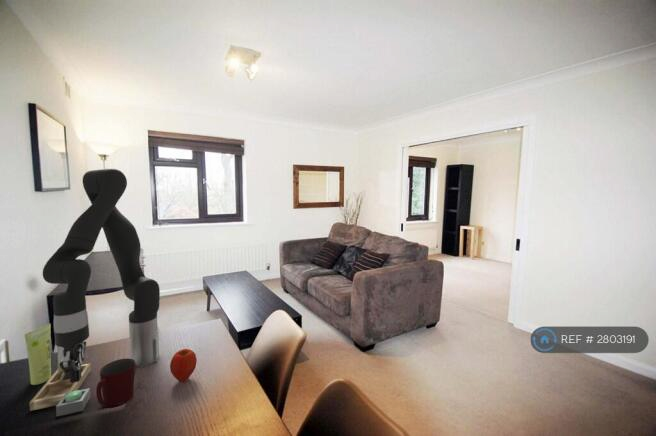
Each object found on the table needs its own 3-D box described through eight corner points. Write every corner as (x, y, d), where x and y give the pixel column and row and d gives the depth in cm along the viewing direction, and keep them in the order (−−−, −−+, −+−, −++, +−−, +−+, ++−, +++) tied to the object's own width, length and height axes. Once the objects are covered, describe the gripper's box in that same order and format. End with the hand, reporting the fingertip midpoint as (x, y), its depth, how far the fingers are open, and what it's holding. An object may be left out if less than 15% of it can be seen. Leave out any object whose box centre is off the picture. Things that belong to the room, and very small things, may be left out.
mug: (113, 418, 81) (112, 382, 81) (84, 417, 82) (82, 381, 81) (142, 390, 93) (141, 358, 93) (116, 389, 94) (115, 358, 93)
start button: (83, 398, 87) (83, 388, 87) (79, 406, 83) (78, 396, 83) (69, 401, 85) (68, 392, 85) (63, 410, 82) (63, 399, 82)
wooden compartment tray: (91, 372, 102) (90, 363, 102) (70, 405, 86) (69, 394, 86) (58, 378, 98) (57, 369, 98) (30, 413, 82) (29, 402, 82)
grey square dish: (90, 400, 88) (89, 388, 88) (83, 413, 83) (82, 400, 83) (66, 405, 86) (65, 393, 86) (56, 419, 81) (56, 406, 80)
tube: (48, 385, 95) (45, 329, 94) (27, 390, 92) (24, 333, 91) (53, 376, 100) (50, 323, 98) (33, 381, 97) (30, 326, 95)
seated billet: (81, 374, 99) (80, 330, 98) (75, 383, 95) (73, 337, 94) (62, 377, 97) (60, 333, 96) (55, 387, 93) (53, 340, 92)
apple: (201, 380, 99) (200, 351, 98) (175, 392, 93) (174, 361, 92) (191, 370, 105) (191, 342, 104) (166, 380, 99) (166, 351, 98)
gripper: (79, 333, 78) (83, 391, 80) (94, 314, 90) (98, 365, 92) (43, 339, 75) (49, 399, 77) (64, 318, 87) (68, 371, 88)
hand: (76, 380), depth 84 cm, fingers closed
